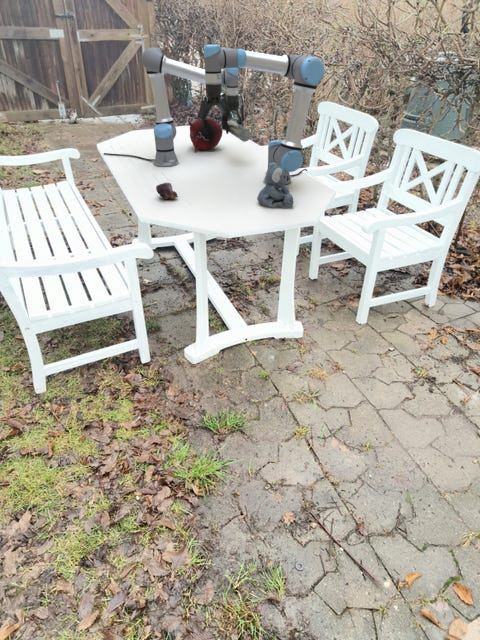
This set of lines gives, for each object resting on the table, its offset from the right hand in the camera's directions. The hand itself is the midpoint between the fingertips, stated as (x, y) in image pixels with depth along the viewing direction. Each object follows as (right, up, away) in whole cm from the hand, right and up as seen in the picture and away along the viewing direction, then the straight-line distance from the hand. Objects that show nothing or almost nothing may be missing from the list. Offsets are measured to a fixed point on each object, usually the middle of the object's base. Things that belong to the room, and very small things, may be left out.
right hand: (215, 131), depth 222 cm
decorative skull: (-12, +32, +105) cm, 111 cm away
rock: (-27, -28, +18) cm, 43 cm away
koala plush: (+30, -33, +10) cm, 46 cm away
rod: (+11, +25, +68) cm, 73 cm away
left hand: (+8, +31, +75) cm, 82 cm away
